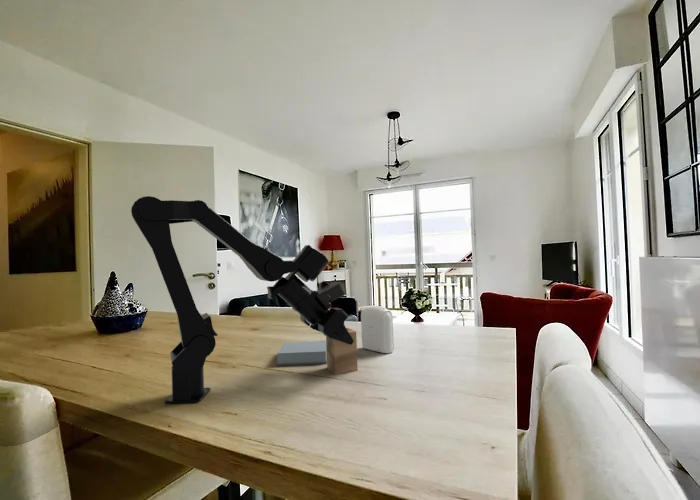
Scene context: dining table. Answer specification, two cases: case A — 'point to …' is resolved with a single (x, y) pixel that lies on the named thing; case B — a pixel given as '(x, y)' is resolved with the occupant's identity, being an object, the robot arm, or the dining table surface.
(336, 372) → the walnut block
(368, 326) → the photo printer
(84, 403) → the dining table surface
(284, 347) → the plinth
